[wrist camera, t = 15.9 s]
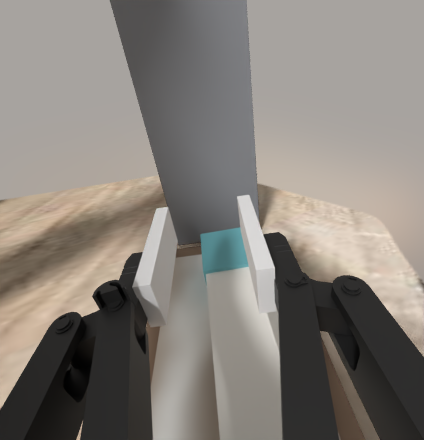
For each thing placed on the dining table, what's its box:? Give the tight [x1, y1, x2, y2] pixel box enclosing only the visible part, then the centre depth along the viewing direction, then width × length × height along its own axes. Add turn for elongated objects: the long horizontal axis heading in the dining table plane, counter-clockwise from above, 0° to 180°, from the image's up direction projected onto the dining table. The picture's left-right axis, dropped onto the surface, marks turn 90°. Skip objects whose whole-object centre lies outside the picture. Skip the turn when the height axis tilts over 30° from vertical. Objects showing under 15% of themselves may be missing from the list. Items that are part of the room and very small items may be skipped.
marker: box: [200, 227, 282, 440], centre depth 21 cm, size 5×22×5 cm, turn 5°
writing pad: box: [146, 246, 365, 440], centre depth 23 cm, size 16×28×1 cm, turn 2°
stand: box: [110, 0, 259, 245], centre depth 34 cm, size 13×13×30 cm
